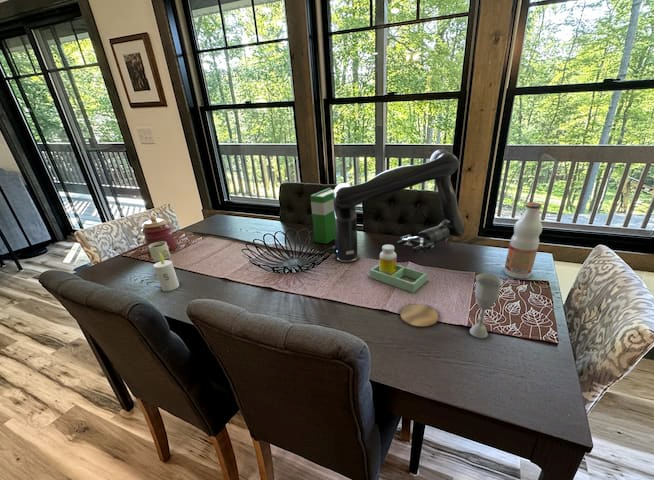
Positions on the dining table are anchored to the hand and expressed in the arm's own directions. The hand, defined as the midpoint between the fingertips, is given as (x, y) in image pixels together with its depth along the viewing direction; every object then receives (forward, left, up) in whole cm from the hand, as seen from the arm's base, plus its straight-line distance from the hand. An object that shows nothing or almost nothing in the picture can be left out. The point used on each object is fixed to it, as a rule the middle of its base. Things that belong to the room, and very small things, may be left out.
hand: (404, 247), depth 127 cm
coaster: (+21, -26, -9) cm, 35 cm away
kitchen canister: (-111, -53, -10) cm, 123 cm away
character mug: (-83, -63, -10) cm, 105 cm away
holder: (+3, -10, -9) cm, 14 cm away
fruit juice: (+38, +22, -10) cm, 45 cm away
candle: (-67, -68, -10) cm, 96 cm away
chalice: (+39, -23, -10) cm, 46 cm away
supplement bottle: (-2, -10, -10) cm, 14 cm away
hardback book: (-51, +9, -10) cm, 52 cm away
